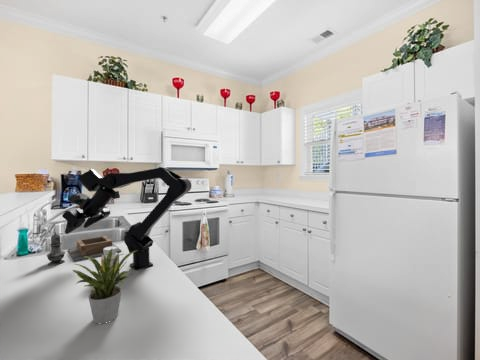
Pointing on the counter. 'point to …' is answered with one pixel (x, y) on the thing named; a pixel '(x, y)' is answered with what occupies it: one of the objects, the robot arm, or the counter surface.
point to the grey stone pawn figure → (55, 251)
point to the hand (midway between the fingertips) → (75, 230)
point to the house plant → (104, 288)
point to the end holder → (91, 248)
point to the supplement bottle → (114, 253)
